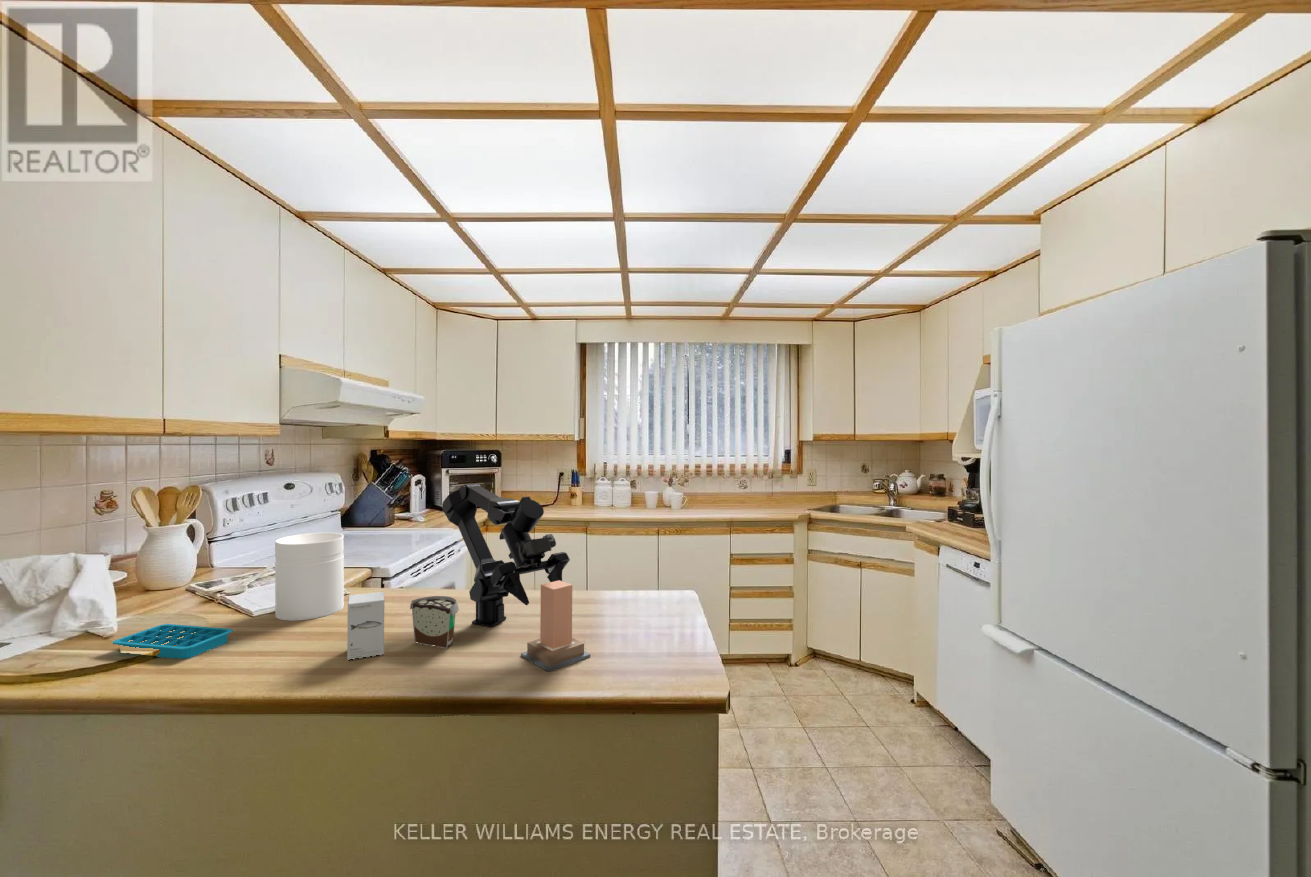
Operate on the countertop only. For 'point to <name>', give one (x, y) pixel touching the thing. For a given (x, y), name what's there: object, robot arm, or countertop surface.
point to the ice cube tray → (177, 640)
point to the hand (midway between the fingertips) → (545, 599)
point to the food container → (434, 620)
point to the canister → (309, 575)
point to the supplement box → (365, 625)
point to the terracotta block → (556, 614)
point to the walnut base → (554, 654)
